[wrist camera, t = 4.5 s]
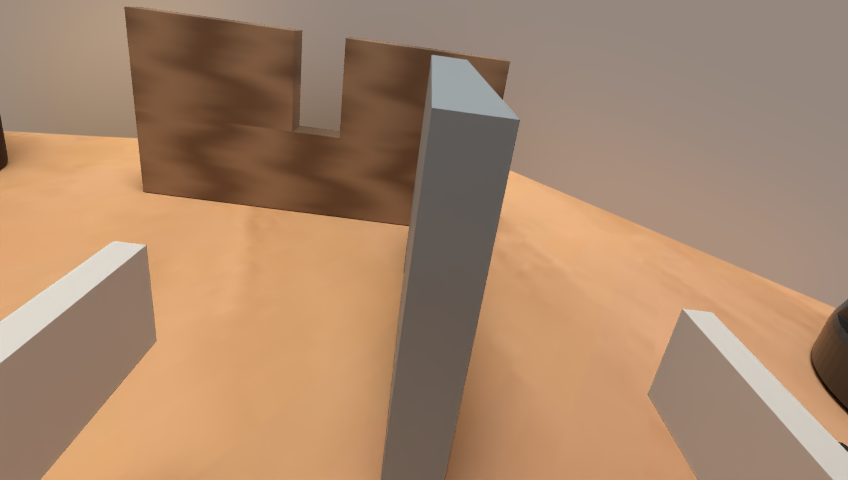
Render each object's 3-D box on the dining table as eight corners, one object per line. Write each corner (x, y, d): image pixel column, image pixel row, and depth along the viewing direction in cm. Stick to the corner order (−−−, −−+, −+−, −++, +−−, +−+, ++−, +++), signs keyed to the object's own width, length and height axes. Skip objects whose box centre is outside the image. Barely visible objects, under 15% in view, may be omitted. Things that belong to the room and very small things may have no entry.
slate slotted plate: (441, 492, 16) (520, 119, 11) (380, 486, 16) (431, 107, 11) (436, 252, 32) (467, 59, 28) (406, 248, 32) (431, 54, 28)
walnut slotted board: (474, 223, 38) (505, 59, 33) (476, 234, 36) (510, 61, 31) (157, 183, 37) (141, 7, 32) (143, 191, 35) (124, 6, 30)
